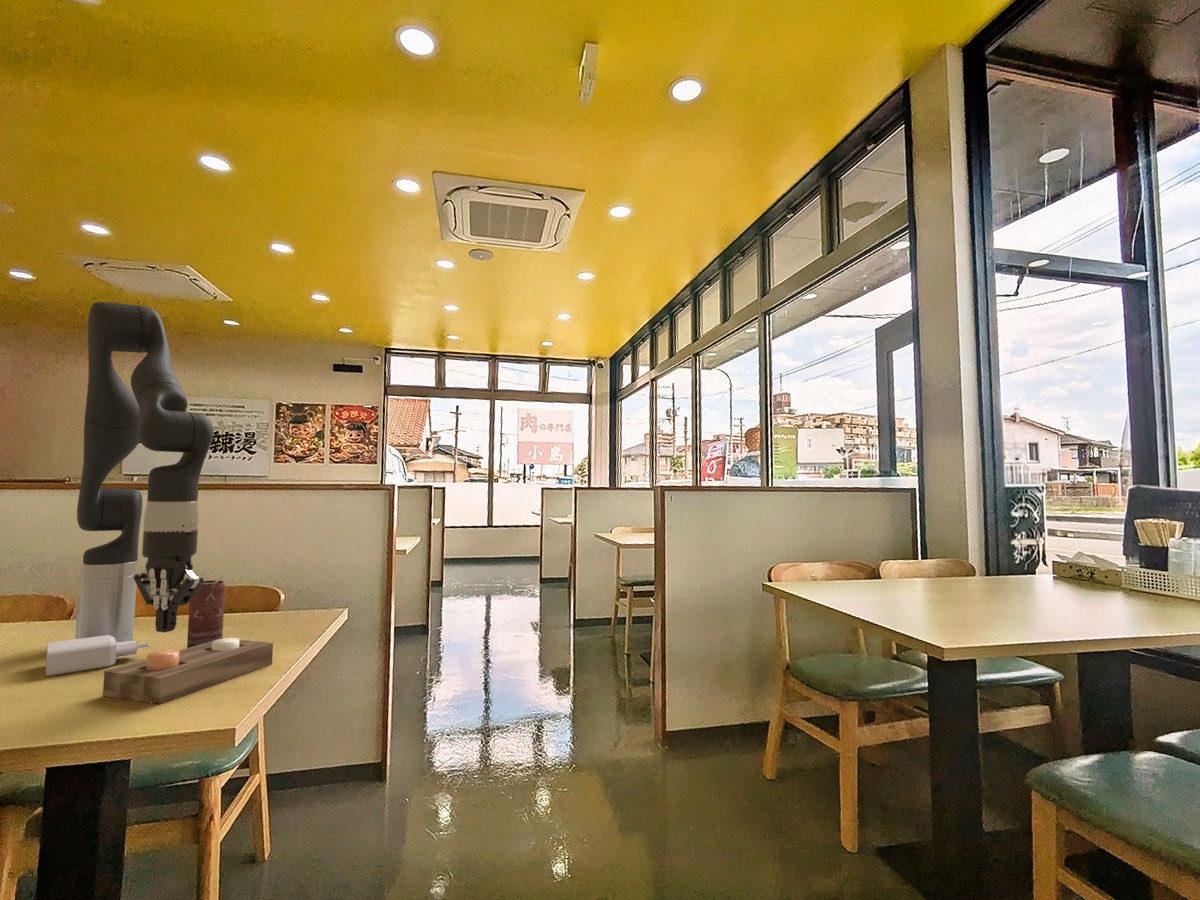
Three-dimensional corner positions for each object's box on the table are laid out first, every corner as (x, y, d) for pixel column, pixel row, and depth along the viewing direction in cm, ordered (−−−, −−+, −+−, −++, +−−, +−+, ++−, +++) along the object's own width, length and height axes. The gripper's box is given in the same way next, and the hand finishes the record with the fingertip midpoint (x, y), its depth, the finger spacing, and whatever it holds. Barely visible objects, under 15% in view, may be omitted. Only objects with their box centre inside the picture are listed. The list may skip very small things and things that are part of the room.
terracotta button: (138, 680, 97) (140, 655, 97) (164, 672, 101) (166, 648, 102) (159, 682, 96) (160, 657, 96) (184, 674, 100) (186, 650, 101)
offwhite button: (204, 664, 109) (205, 642, 109) (225, 658, 113) (226, 637, 113) (223, 667, 108) (224, 644, 108) (244, 660, 112) (245, 638, 112)
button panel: (102, 696, 95) (104, 671, 96) (222, 658, 117) (223, 638, 117) (159, 704, 92) (160, 678, 92) (272, 664, 113) (273, 642, 114)
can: (229, 646, 126) (233, 579, 127) (207, 654, 119) (210, 584, 120) (203, 645, 126) (206, 579, 127) (179, 653, 120) (183, 583, 121)
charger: (151, 662, 115) (45, 678, 105) (145, 652, 121) (45, 666, 111) (152, 637, 115) (47, 651, 105) (146, 628, 122) (47, 641, 112)
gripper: (119, 528, 99) (112, 633, 98) (180, 531, 95) (174, 640, 94) (162, 525, 106) (157, 623, 105) (221, 527, 102) (216, 629, 101)
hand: (165, 631), depth 99 cm, fingers closed
